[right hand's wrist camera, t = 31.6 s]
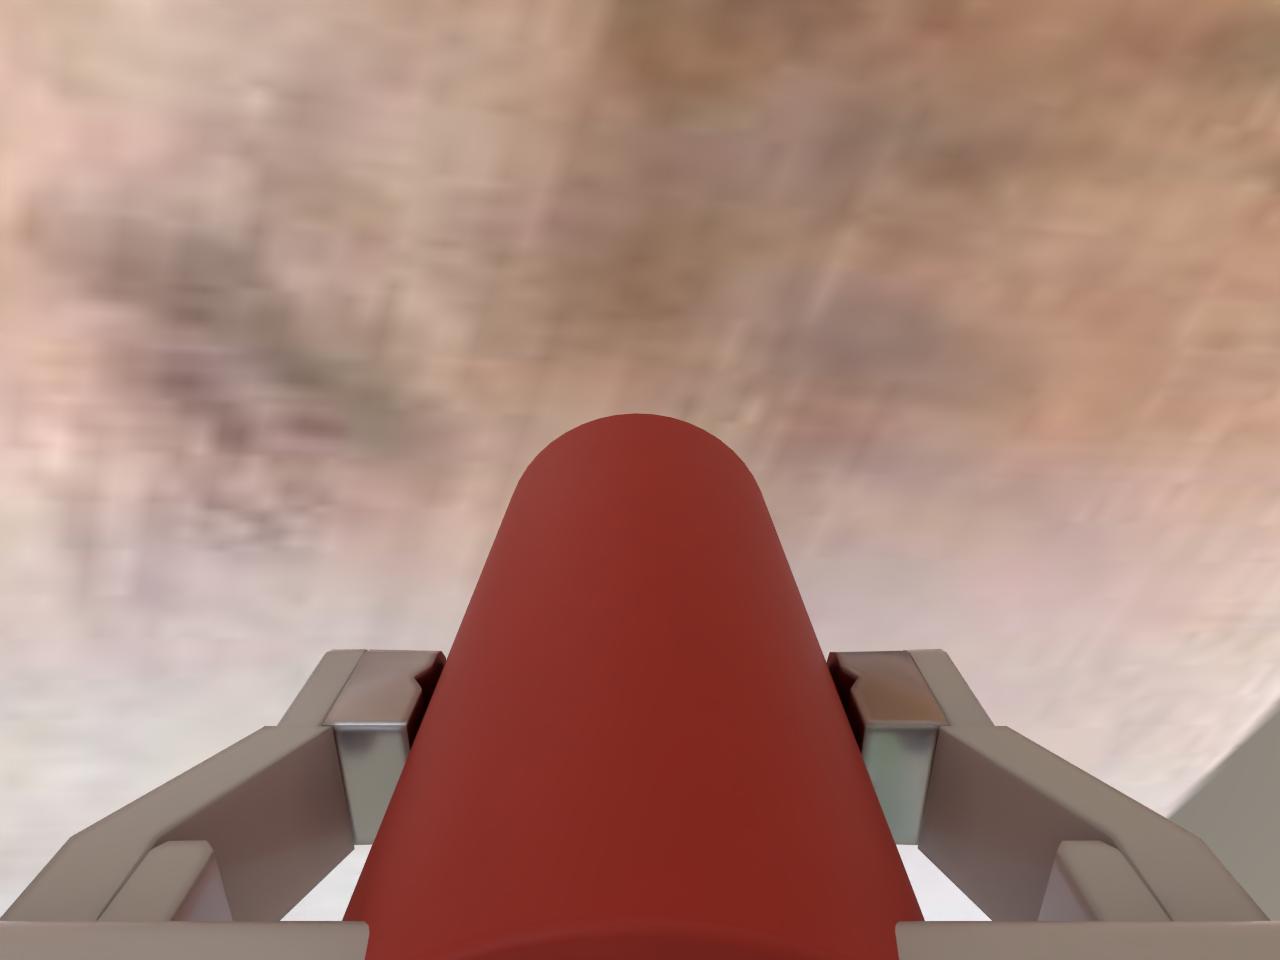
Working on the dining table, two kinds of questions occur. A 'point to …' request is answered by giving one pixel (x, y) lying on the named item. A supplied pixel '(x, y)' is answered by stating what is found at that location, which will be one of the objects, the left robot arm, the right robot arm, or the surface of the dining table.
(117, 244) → the dining table surface
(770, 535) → the cylinder
